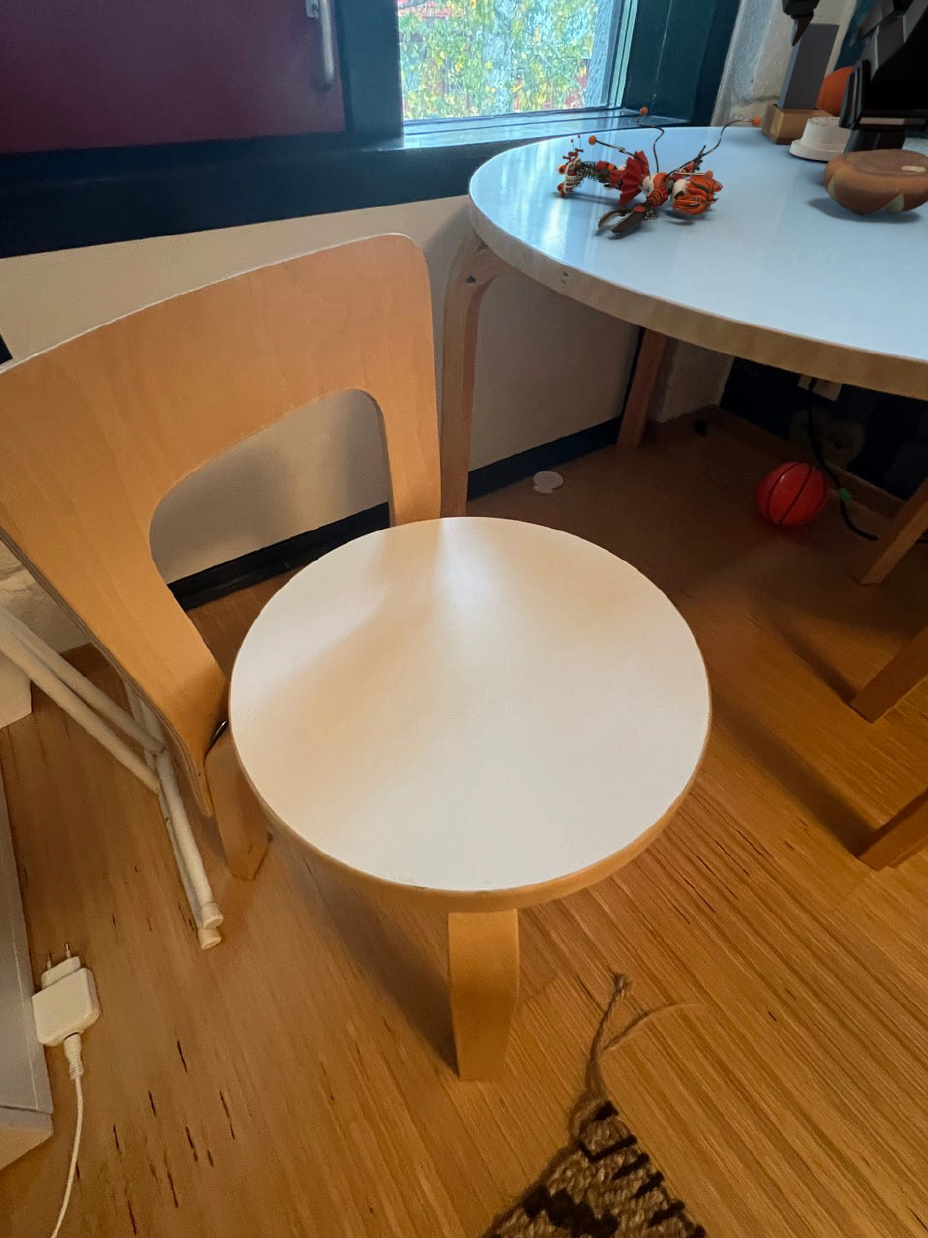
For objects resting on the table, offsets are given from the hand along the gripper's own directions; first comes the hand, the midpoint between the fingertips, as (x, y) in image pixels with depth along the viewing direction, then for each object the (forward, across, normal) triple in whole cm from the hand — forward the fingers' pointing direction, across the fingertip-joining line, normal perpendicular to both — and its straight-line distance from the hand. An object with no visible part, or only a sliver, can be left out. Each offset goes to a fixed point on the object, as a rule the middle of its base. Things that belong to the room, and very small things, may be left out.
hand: (825, 40), depth 97 cm
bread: (-20, +6, +34) cm, 40 cm away
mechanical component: (+4, -1, +14) cm, 15 cm away
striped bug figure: (-18, +42, +28) cm, 53 cm away
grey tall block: (+14, -1, +1) cm, 15 cm away
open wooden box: (+14, -1, +4) cm, 14 cm away
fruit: (+24, -13, -7) cm, 28 cm away
